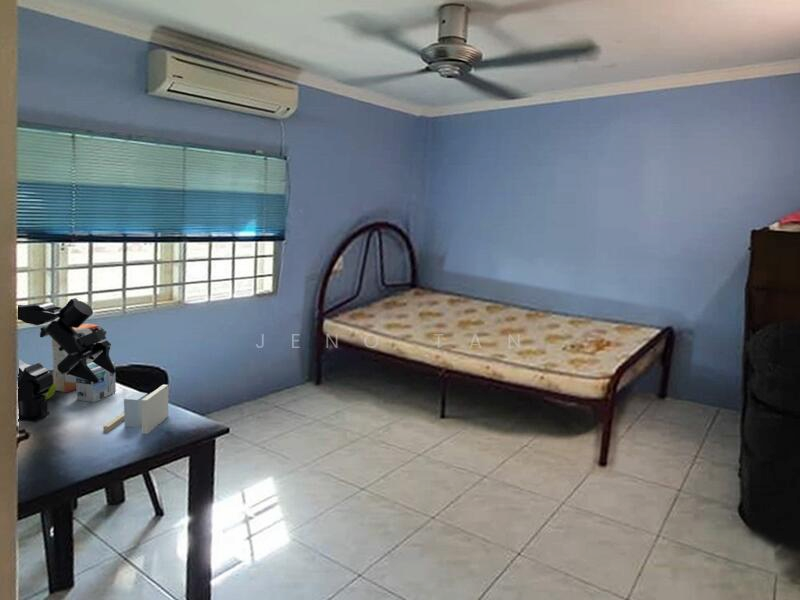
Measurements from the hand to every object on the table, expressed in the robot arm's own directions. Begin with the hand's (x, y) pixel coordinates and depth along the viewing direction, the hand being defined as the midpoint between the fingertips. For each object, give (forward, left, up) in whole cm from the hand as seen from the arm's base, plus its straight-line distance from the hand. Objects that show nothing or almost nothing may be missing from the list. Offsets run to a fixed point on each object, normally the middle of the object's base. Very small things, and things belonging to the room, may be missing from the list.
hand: (106, 377), depth 165 cm
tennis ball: (-28, +14, -14) cm, 35 cm away
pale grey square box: (+9, 0, -14) cm, 16 cm away
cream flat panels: (+9, 0, -14) cm, 16 cm away
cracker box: (-25, +28, -14) cm, 40 cm away
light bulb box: (-14, +20, -14) cm, 28 cm away
